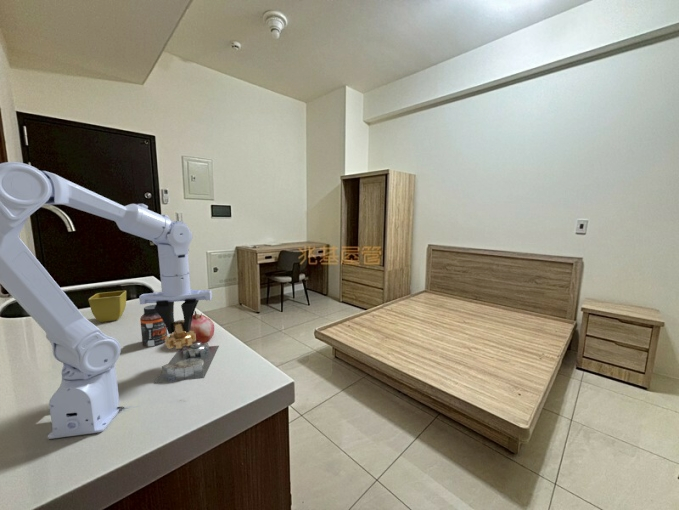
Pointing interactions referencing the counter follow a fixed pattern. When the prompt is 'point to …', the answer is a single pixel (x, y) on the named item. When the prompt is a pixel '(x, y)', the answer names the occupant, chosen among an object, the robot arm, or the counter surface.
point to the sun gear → (195, 349)
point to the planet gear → (180, 336)
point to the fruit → (202, 327)
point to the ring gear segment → (182, 370)
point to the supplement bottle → (152, 327)
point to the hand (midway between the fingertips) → (179, 331)
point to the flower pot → (108, 305)
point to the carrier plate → (181, 361)
